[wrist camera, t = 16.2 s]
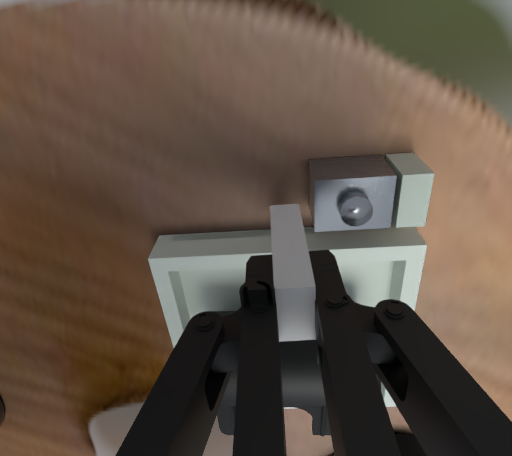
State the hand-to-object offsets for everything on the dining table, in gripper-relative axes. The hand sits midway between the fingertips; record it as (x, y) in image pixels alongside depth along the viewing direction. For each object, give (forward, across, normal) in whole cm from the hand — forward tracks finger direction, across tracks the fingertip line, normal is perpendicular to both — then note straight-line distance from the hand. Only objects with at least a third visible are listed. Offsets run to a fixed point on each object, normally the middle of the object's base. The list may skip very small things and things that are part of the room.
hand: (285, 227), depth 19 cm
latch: (+3, +4, +1) cm, 5 cm away
